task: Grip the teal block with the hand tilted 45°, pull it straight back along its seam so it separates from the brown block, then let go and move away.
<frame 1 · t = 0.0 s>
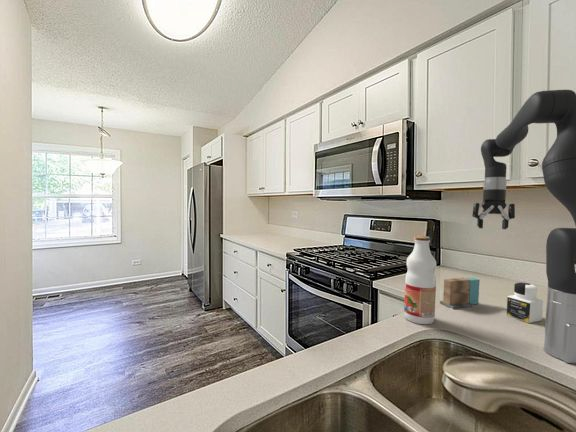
hand: (492, 228, 118), 29 cm above the table, tool pointing down, fingers open, 8 cm apart
fruit juice: (418, 319, 97), on the table
teal block: (471, 290, 113), point 5 cm above the table, slide at 0.0 cm
brown block: (465, 304, 113), on the table
medicine bottle: (523, 318, 100), on the table
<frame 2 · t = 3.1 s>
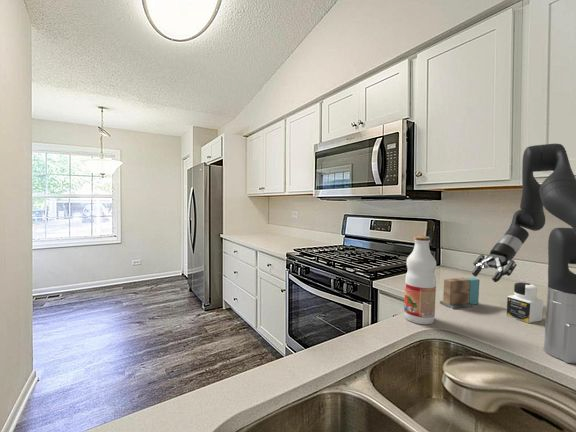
hand: (483, 277, 115), 10 cm above the table, tool tilted 45°, fingers open, 8 cm apart
nothing on the table moved.
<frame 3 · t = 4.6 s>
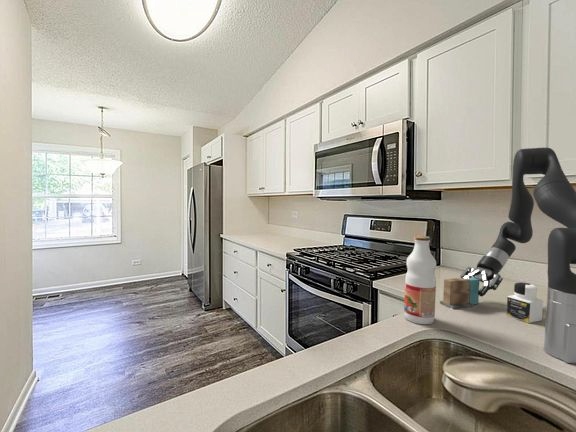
hand: (469, 291, 113), 5 cm above the table, tool tilted 45°, fingers open, 8 cm apart
nothing on the table moved.
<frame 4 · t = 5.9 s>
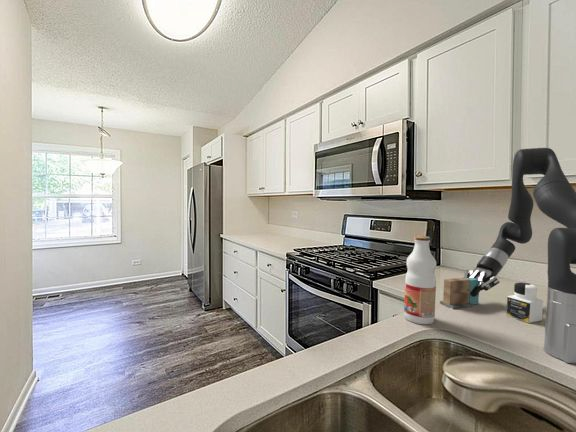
hand: (467, 293, 113), 4 cm above the table, tool tilted 45°, fingers closed on teal block, 3 cm apart
teal block: (471, 290, 113), point 5 cm above the table, slide at 0.0 cm, touching gripper
everything else where it was.
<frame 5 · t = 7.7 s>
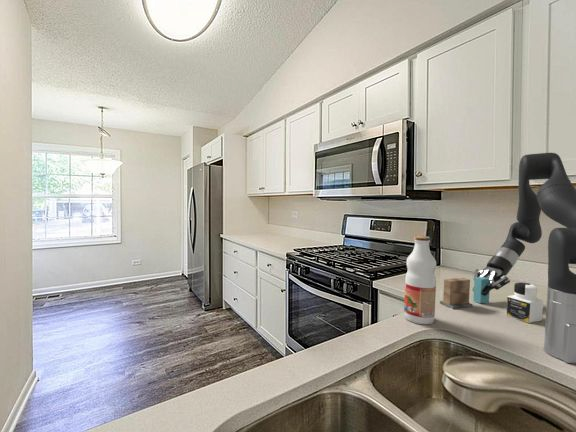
hand: (478, 292, 114), 4 cm above the table, tool tilted 45°, fingers closed on teal block, 3 cm apart
teal block: (481, 289, 115), point 5 cm above the table, slide at 5.5 cm, touching gripper
everything else where it was.
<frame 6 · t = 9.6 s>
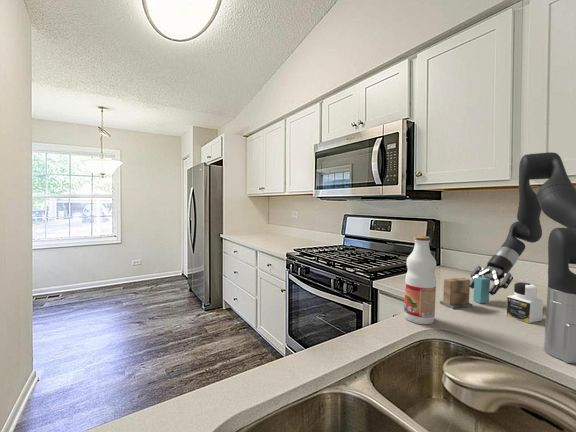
hand: (480, 290, 115), 5 cm above the table, tool tilted 45°, fingers open, 8 cm apart
teal block: (481, 289, 115), point 5 cm above the table, slide at 5.5 cm
everything else where it was.
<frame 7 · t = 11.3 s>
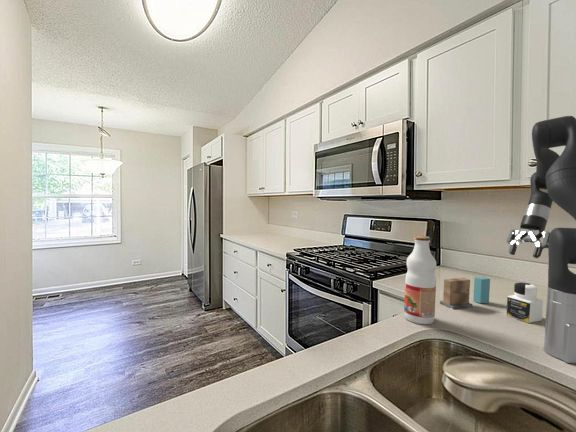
hand: (523, 255, 112), 19 cm above the table, tool tilted 25°, fingers open, 8 cm apart
nothing on the table moved.
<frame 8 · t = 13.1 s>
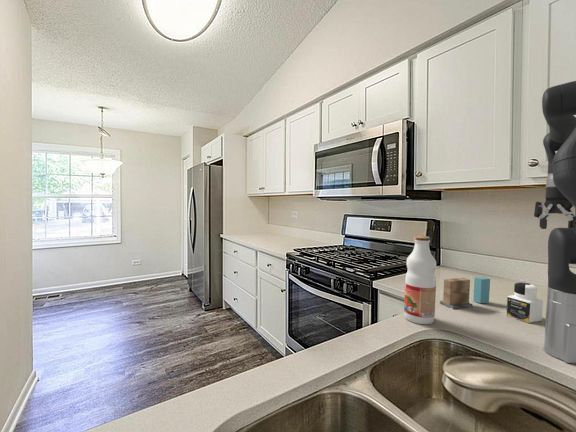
hand: (556, 230, 107), 30 cm above the table, tool pointing down, fingers open, 8 cm apart
nothing on the table moved.
at the end: teal block slide at 5.5 cm; the gripper is holding nothing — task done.
